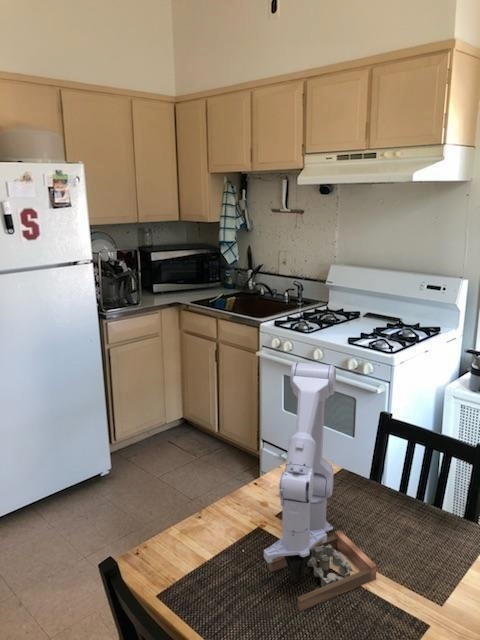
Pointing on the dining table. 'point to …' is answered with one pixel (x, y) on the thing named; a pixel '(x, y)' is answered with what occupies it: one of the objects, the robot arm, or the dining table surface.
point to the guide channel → (341, 585)
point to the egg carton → (328, 564)
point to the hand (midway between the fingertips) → (295, 578)
